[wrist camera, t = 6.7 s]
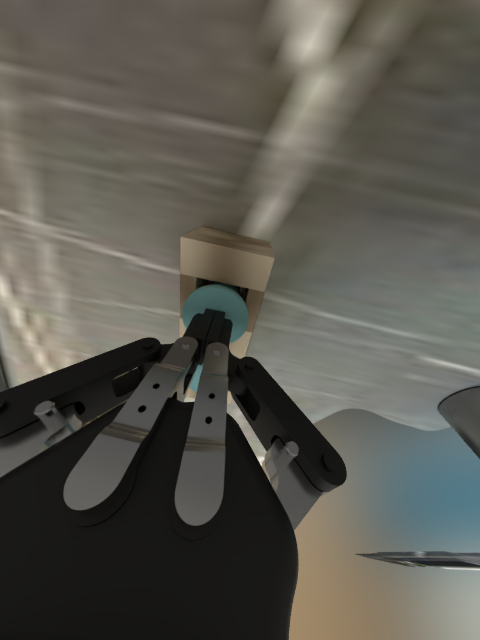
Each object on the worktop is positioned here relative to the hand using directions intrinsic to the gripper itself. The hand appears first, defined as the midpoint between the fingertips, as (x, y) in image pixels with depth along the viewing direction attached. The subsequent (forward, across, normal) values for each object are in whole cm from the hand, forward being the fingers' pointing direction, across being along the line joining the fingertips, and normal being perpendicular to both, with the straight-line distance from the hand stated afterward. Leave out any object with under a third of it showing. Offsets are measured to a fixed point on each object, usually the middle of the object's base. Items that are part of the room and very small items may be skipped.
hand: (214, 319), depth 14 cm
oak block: (+8, 0, +5) cm, 10 cm away
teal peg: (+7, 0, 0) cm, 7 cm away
